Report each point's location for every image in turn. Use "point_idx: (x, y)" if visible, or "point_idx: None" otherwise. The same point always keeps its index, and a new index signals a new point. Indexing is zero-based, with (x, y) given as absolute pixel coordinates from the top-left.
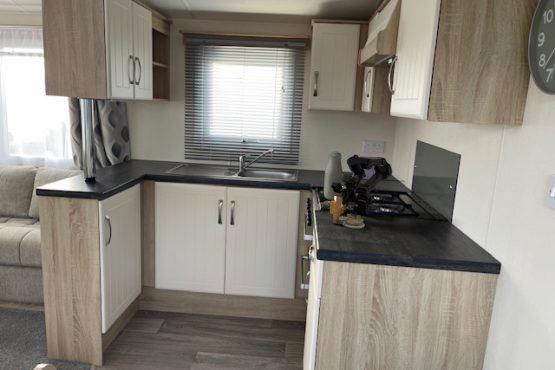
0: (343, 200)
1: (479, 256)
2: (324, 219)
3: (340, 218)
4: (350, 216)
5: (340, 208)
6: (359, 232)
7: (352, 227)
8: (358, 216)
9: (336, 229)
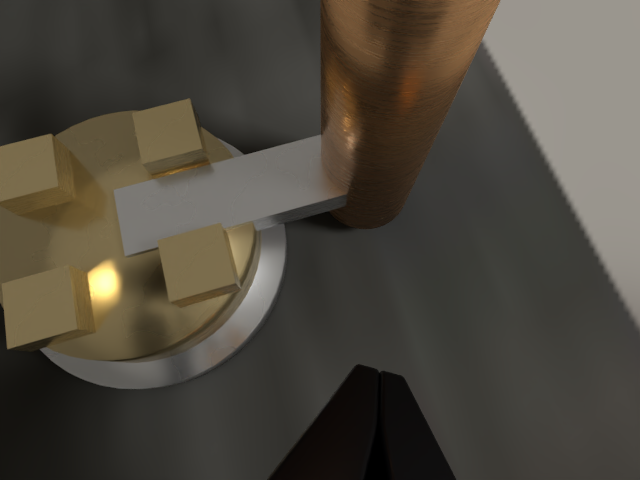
0: (388, 441)
1: None
2: (551, 307)
3: (305, 144)
4: (177, 240)
5: (321, 60)
6: (73, 64)
7: None
8: (46, 271)
9: (298, 33)
